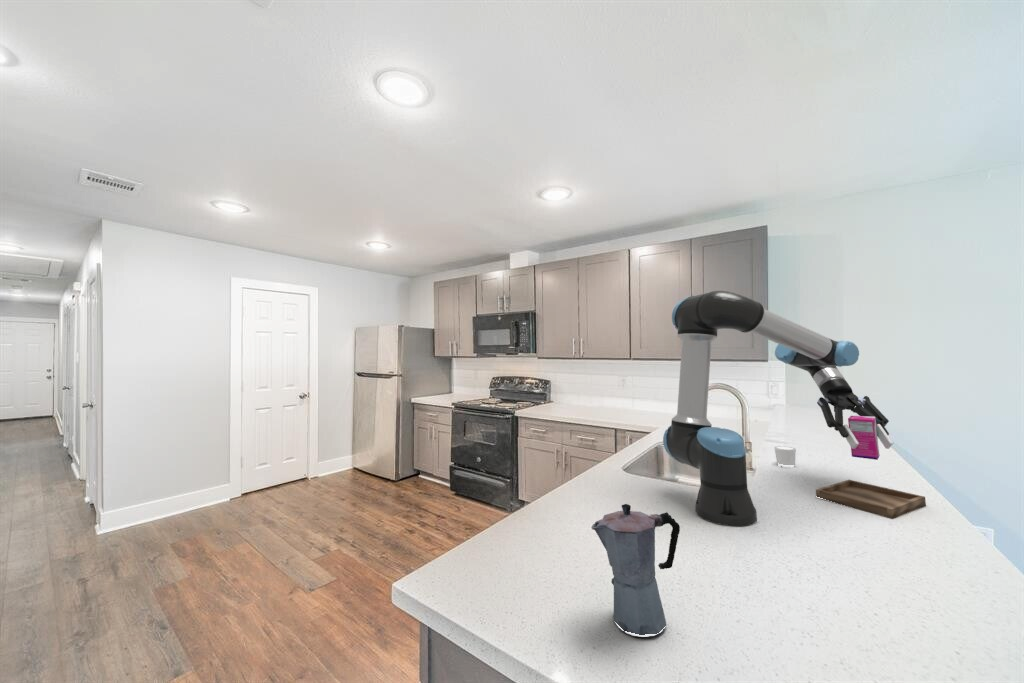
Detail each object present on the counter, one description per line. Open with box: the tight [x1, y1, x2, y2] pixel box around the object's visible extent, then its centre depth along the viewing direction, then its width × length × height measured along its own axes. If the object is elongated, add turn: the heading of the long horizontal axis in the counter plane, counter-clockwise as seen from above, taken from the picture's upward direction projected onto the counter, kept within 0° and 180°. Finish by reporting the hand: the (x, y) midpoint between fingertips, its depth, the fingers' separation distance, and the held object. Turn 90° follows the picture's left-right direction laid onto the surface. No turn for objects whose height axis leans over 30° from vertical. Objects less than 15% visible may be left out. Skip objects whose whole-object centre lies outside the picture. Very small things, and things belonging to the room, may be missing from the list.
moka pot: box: [591, 503, 681, 635], centre depth 68 cm, size 10×15×20 cm, turn 95°
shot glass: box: [774, 445, 797, 466], centre depth 152 cm, size 7×7×7 cm
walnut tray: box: [815, 479, 927, 520], centre depth 114 cm, size 18×18×2 cm
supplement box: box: [847, 415, 880, 461], centre depth 114 cm, size 6×6×12 cm
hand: (872, 446), depth 111 cm, fingers closed on supplement box, 8 cm apart
